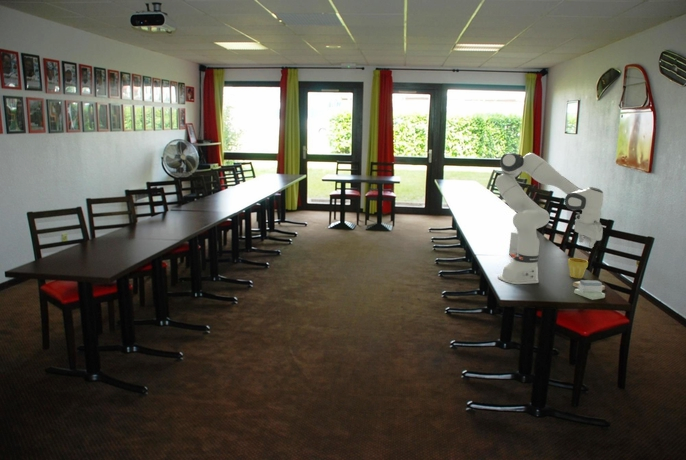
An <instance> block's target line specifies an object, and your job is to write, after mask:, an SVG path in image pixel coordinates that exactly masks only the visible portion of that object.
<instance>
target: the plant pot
mask: <svg viewBox="0 0 686 460" xmlns="http://www.w3.org/2000/svg"><path fill="white" fill-rule="evenodd" d="M567 260H568V261H567V265H568V268H569V276H570V278H574V279H582V278H584V276H585V275H584V274H585V271H586V269H587V268H588V266H589V261H588V260H586V259H585V258H577V257H570V258H568V259H567Z"/></svg>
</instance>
